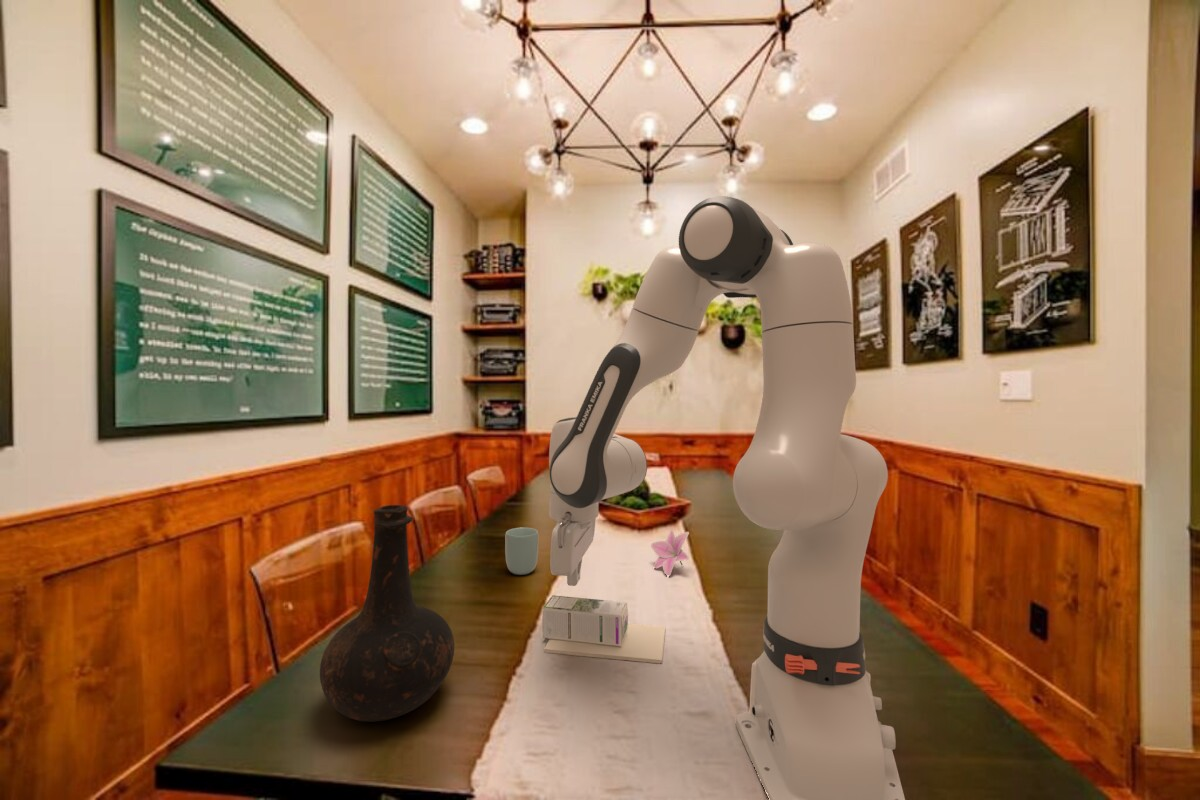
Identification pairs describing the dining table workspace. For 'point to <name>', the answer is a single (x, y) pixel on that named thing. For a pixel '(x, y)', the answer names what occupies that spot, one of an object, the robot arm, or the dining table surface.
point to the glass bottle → (387, 637)
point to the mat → (636, 646)
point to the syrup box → (585, 620)
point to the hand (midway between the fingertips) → (573, 582)
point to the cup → (521, 550)
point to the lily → (670, 551)
